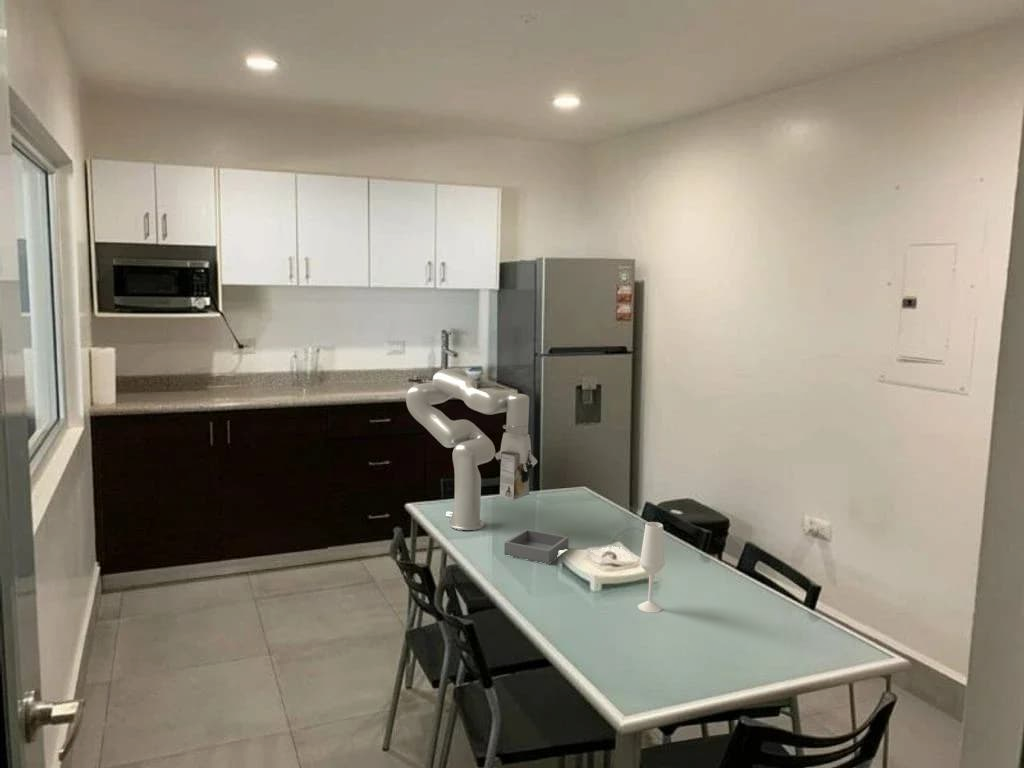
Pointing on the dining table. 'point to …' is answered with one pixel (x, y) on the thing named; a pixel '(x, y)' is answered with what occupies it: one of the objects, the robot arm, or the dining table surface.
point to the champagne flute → (652, 560)
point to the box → (536, 546)
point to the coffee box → (512, 477)
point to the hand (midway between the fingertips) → (514, 479)
